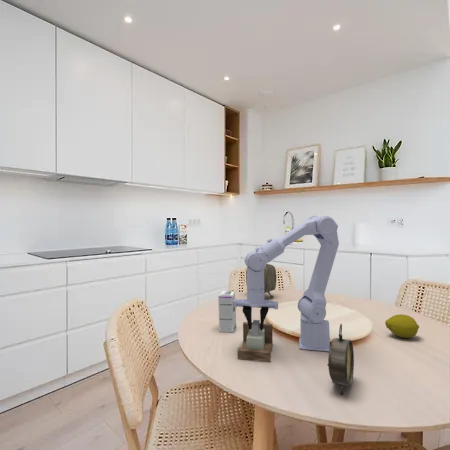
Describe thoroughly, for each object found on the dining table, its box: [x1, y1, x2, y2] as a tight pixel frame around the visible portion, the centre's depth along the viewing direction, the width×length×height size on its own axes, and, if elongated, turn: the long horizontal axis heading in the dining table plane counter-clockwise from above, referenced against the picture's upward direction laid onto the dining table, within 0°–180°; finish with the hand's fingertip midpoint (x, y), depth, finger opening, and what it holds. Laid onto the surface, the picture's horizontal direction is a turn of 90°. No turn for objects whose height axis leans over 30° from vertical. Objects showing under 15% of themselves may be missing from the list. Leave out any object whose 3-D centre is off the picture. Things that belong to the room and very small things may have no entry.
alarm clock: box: [327, 323, 355, 396], centre depth 76 cm, size 11×5×16 cm, turn 148°
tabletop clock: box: [245, 263, 277, 299], centre depth 155 cm, size 14×9×25 cm, turn 43°
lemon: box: [384, 314, 420, 339], centre depth 105 cm, size 11×8×8 cm
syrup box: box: [217, 290, 237, 333], centre depth 114 cm, size 6×6×14 cm
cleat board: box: [237, 321, 274, 363], centre depth 96 cm, size 10×12×7 cm
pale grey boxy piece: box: [246, 319, 265, 350], centre depth 96 cm, size 5×8×8 cm, turn 167°
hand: (256, 328), depth 96 cm, fingers open, 3 cm apart
